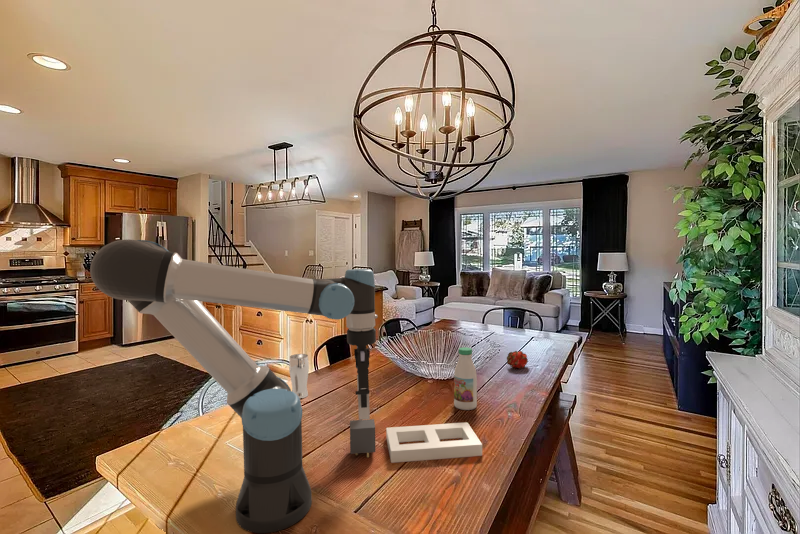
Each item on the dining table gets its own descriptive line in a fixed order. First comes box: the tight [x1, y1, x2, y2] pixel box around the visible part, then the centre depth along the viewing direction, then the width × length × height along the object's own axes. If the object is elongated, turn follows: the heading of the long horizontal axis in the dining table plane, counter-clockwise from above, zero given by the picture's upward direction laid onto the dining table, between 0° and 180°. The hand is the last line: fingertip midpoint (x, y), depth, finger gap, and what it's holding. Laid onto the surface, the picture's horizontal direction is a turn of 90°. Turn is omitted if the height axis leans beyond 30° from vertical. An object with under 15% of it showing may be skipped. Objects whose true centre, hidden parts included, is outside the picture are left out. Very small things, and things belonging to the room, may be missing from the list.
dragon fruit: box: [506, 350, 529, 370], centre depth 175 cm, size 8×8×12 cm
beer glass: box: [288, 353, 310, 400], centre depth 143 cm, size 7×7×15 cm
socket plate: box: [385, 421, 483, 463], centre depth 106 cm, size 13×24×3 cm, turn 97°
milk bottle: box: [453, 346, 478, 411], centre depth 132 cm, size 8×8×20 cm
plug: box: [349, 418, 376, 458], centre depth 102 cm, size 5×6×8 cm
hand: (363, 407), depth 102 cm, fingers open, 13 cm apart
